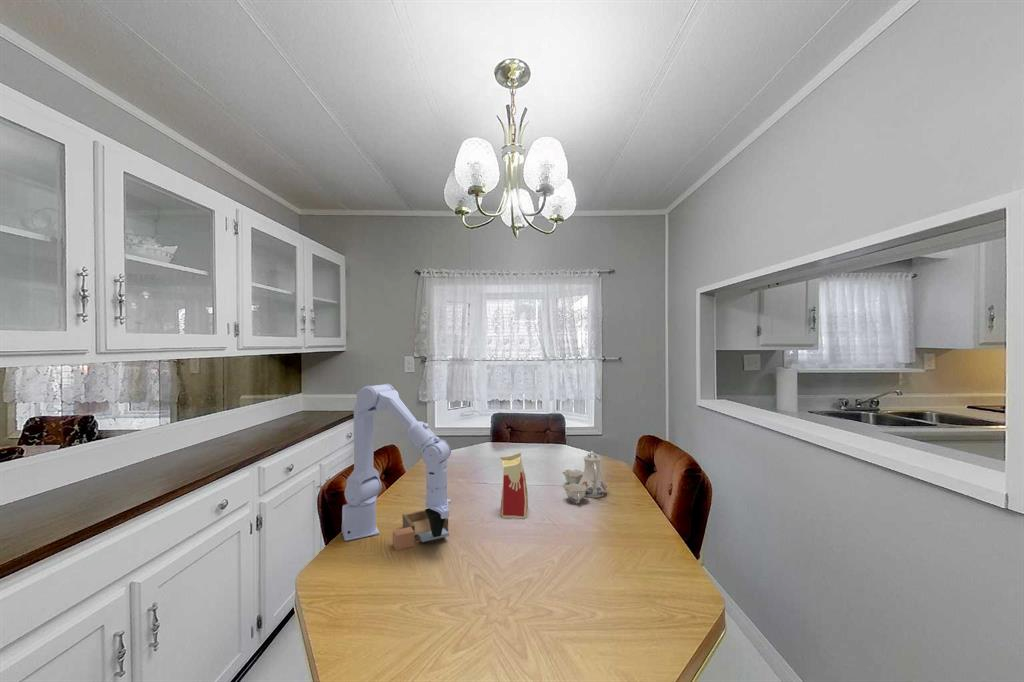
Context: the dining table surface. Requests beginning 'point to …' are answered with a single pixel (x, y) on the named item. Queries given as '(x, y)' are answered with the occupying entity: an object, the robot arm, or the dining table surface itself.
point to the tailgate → (428, 536)
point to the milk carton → (514, 488)
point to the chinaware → (585, 480)
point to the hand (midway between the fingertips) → (436, 535)
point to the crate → (419, 522)
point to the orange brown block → (403, 538)
